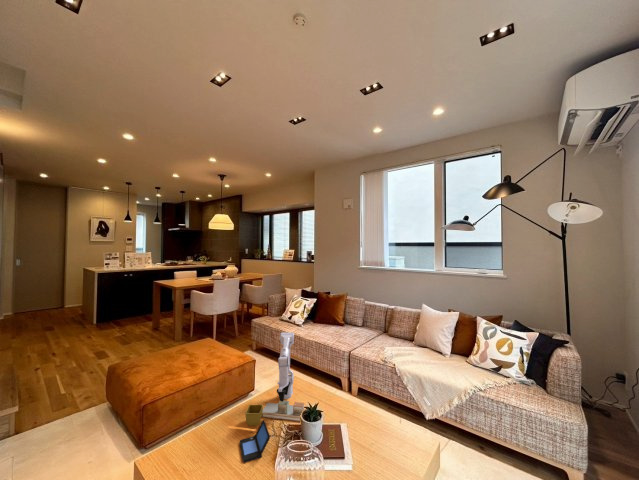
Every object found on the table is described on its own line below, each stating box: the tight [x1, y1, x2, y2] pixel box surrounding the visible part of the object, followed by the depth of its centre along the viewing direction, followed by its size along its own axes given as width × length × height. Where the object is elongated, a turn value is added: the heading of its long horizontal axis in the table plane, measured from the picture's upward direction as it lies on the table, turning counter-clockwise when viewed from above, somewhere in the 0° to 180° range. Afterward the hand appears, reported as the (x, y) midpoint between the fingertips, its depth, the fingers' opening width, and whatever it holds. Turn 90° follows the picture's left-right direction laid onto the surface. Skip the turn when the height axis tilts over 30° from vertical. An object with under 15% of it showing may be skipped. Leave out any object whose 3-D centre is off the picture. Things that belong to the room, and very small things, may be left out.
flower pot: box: [244, 404, 264, 427], centre depth 158 cm, size 9×9×9 cm
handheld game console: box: [239, 420, 271, 463], centre depth 138 cm, size 16×13×9 cm
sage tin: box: [277, 399, 290, 414], centre depth 168 cm, size 4×6×6 cm
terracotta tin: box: [293, 401, 305, 416], centre depth 165 cm, size 4×6×6 cm
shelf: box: [261, 402, 301, 422], centre depth 168 cm, size 15×30×3 cm, turn 79°
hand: (283, 397), depth 168 cm, fingers open, 7 cm apart
